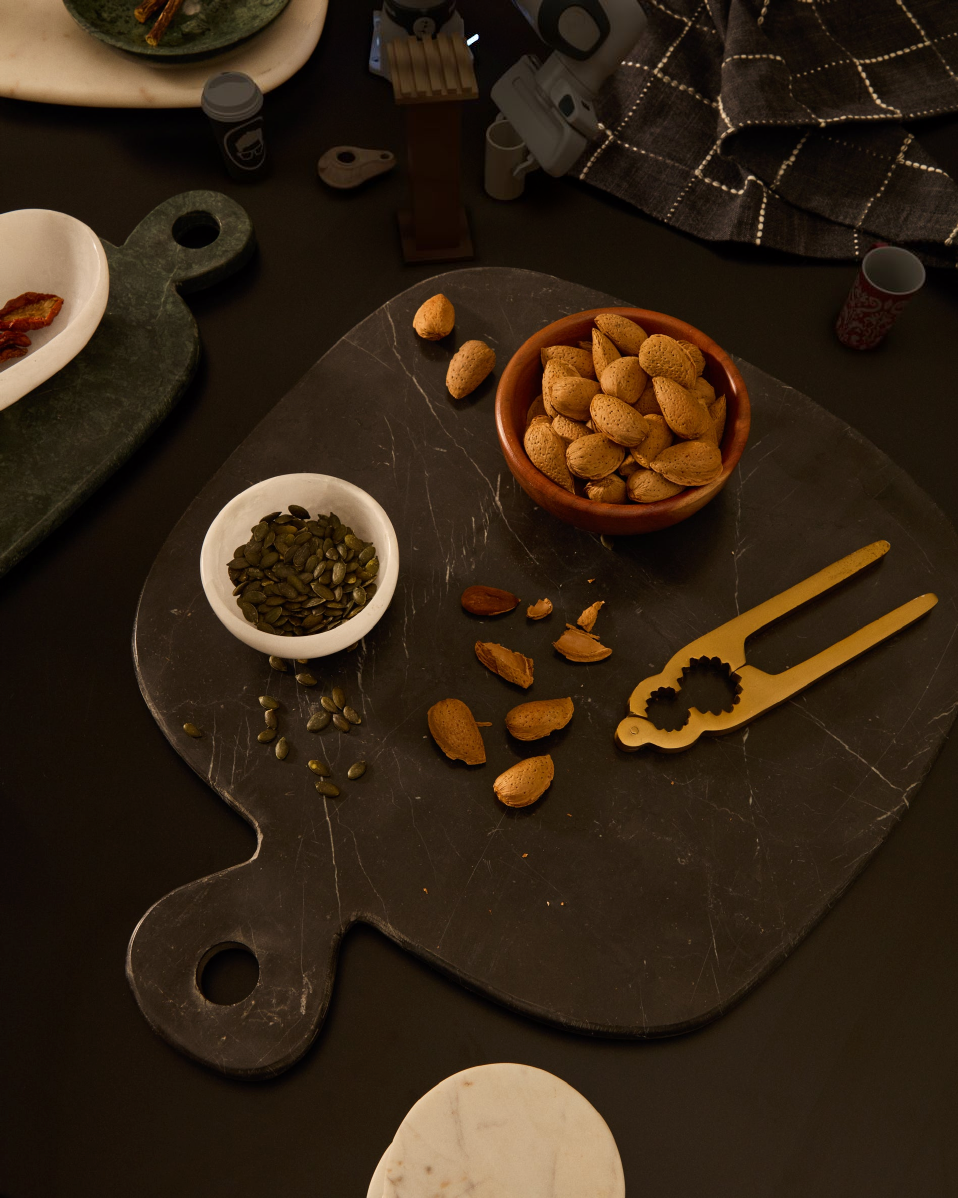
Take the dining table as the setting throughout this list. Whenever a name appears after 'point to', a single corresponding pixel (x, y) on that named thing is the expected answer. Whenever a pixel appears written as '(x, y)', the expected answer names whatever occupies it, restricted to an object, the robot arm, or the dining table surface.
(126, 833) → the dining table surface
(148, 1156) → the dining table surface
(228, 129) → the coffee cup
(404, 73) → the wooden slatted trivet
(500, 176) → the enamel cup
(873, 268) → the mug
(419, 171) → the stand
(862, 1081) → the dining table surface
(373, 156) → the pottery oil lamp
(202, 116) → the dining table surface
